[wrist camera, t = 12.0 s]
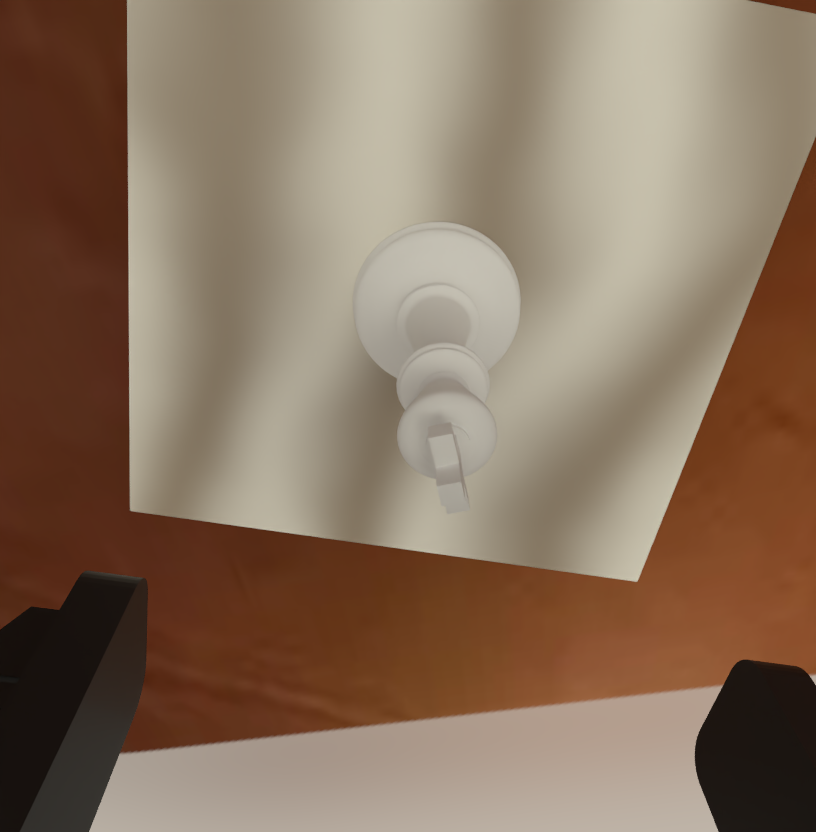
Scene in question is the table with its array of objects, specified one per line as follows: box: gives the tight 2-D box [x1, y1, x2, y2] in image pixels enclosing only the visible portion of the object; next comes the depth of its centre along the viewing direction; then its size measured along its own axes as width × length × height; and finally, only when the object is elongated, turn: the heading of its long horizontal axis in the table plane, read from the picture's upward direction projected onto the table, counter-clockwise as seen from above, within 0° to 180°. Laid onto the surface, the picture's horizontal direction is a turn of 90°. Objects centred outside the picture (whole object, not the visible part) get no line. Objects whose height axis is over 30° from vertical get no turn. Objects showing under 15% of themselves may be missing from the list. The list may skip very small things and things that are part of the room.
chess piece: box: [353, 222, 521, 514], centre depth 17 cm, size 5×5×10 cm
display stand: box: [127, 0, 816, 582], centre depth 24 cm, size 18×18×5 cm
